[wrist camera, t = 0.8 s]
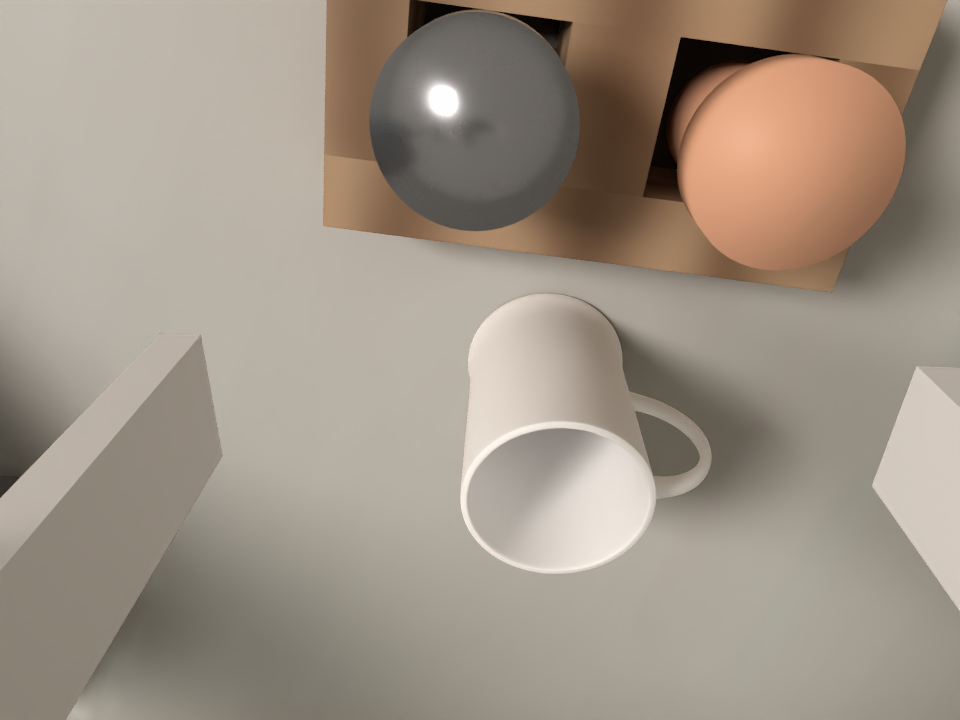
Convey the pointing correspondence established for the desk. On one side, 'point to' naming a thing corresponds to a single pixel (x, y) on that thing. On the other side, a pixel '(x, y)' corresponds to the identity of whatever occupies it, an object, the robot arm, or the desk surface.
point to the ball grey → (474, 121)
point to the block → (608, 117)
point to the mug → (560, 440)
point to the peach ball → (785, 157)
